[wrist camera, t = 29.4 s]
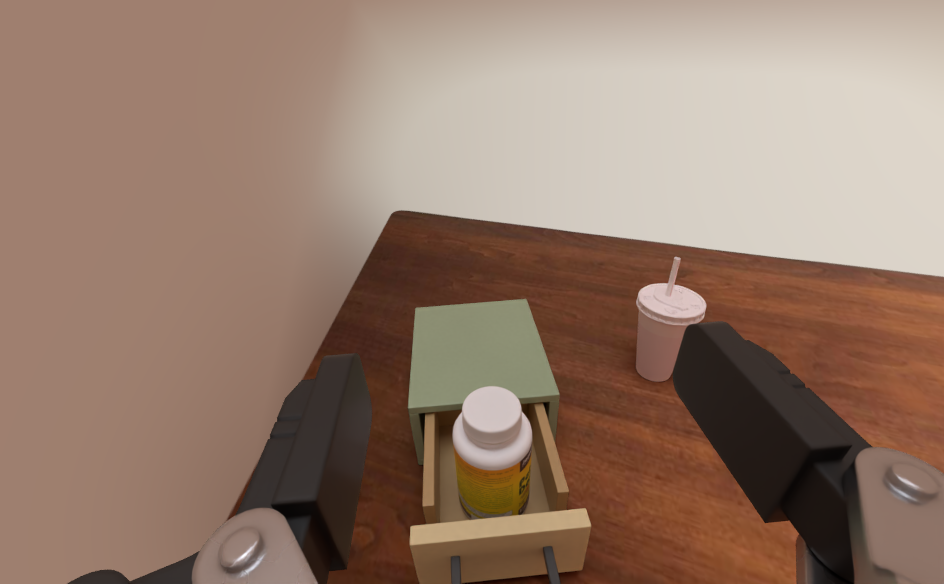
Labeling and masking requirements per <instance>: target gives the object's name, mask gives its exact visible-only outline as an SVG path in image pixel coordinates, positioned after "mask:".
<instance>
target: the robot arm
mask: <svg viewBox="0 0 944 584" xmlns="http://www.w3.org/2000/svg"><path fill="white" fill-rule="evenodd" d="M673 382H674V387H675V389H676V392H677V394H678V396H679V397H680V399H681V400H682V402H683V403H684V404H685V406H686V407H687V409H688V410H689V412H690V413H691V415H692V416H693V418H694V419H695V421H696V422H697V424H698V425H699V426H700V428H701V429H702V431H703V432H704V434H705V435H706V437H707V438H708V440H709V441H710V443H711V444H712V446H713V447H714V449H715V450H716V451H717V453H718V454H719V456H720V457H721V459H722V460H723V462H724V463H725V465H726V466H727V468H728V469H729V471H730V472H731V474H732V475H733V476H734V478H735V479H736V481H737V482H738V484H739V485H740V487H741V488H742V490H743V491H744V493H745V494H746V496H747V497H748V498H749V500H750V501H751V503H752V504H753V506H754V507H755V509H756V510H757V512H758V513H759V515H760V516H761V518H762V519H763V521H764V522H765V523H770V522H780V521H789V520H790V522H791V523H792V525H793V526H794V527H795V529H796V530H797V531H798V533H799V535H798V537H797V540H796V577H797V584H944V474H943V473H942V472H940V471H939V470H938V469H936V468H934V467H933V466H931V465H930V464H928V463H926V462H924V461H922V460H920V459H918V458H916V457H914V456H912V455H909V454H906V453H904V452H901V451H897V450H894V449H889V448H882V447H872V446H871V445H870V444H868V443H867V442H866V441H865V440H864V439H863V438H862V437H861V436H860V435H859V434H858V433H857V432H855V431H854V430H853V429H852V428H851V427H850V426H849V425H848V424H847V423H846V422H845V421H844V420H843V419H842V418H841V417H839V416H838V415H837V414H836V413H835V412H834V411H833V410H832V409H831V408H830V407H829V406H828V405H827V404H826V403H824V402H823V401H822V400H821V399H820V398H819V397H818V396H817V395H816V394H815V393H814V392H813V391H812V390H811V389H809V388H806V387H805V384H804V383H803V382H802V381H801V380H800V379H799V378H798V377H797V376H796V375H795V374H791V373H790V370H789V369H788V368H787V367H786V366H785V365H784V364H783V363H782V362H781V361H780V360H778V359H777V358H776V357H775V356H774V355H773V354H772V353H770V352H768V351H767V350H765V349H763V348H761V347H760V346H758V345H756V344H754V343H753V342H751V341H749V340H744V339H743V338H742V337H741V336H740V335H739V334H738V333H737V332H736V331H735V330H734V329H733V328H732V327H731V326H730V325H729V324H728V323H726V322H723V321H719V322H707V323H695V324H690V325H688V326H687V328H686V329H685V332H684V335H683V339H682V342H681V345H680V349H679V352H678V355H677V359H676V362H675V366H674V369H673ZM371 421H372V407H371V399H370V395H369V391H368V387H367V383H366V379H365V375H364V371H363V367H362V364H361V360H360V357H359V355H358V354H357V353H354V354H342V355H331V356H325V357H323V359H322V361H321V364H320V367H319V370H318V372H317V375H316V378H315V379H310V380H302V381H301V382H300V383H299V384H298V385H297V386H296V387H295V388H294V389H293V390H292V392H291V393H290V394H289V395H288V396H287V397H286V398H285V401H284V403H283V405H282V408H281V410H280V412H279V415H278V417H277V422H275V424H274V427H273V429H272V432H271V434H270V439H268V441H267V443H266V446H265V448H264V450H263V453H262V455H261V458H260V460H259V462H258V465H257V467H256V469H255V472H254V474H253V477H252V479H251V481H250V484H249V486H248V488H247V491H246V493H245V496H244V498H243V500H242V503H241V505H240V507H239V509H238V511H237V513H236V515H235V516H234V517H233V518H231V519H229V520H228V521H227V522H225V523H224V524H222V525H221V526H220V527H219V528H218V529H217V530H216V531H215V532H214V533H213V534H212V535H211V536H210V537H209V539H208V540H207V541H206V543H205V544H204V545H203V547H202V548H201V550H200V551H199V552H197V553H195V554H193V555H192V556H190V557H187V558H186V559H183V560H181V561H179V562H176V563H174V564H171V565H169V566H166V567H164V568H162V569H159V570H157V571H154V572H152V573H149V574H147V575H145V576H142V577H140V578H137V579H135V580H133V581H129V580H128V579H127V578H126V577H125V576H124V575H122V574H121V573H119V572H117V571H115V570H100V571H95V572H91V573H89V574H86V575H83V576H81V577H79V578H77V579H75V580H73V581H71V582H69V583H68V584H327V579H328V574H329V571H335V570H344V569H347V564H348V558H349V552H350V547H351V541H352V535H353V529H354V523H355V517H356V511H357V505H358V499H359V493H360V487H361V481H362V476H363V470H364V464H365V458H366V452H367V446H368V440H369V434H370V428H371Z"/></svg>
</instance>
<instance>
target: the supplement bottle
mask: <svg viewBox="0 0 944 584" xmlns="http://www.w3.org/2000/svg"><path fill="white" fill-rule="evenodd" d="M453 447H454V456H455V466H456V476H457V485H458V494H459V500H460V504H461V507H462V509H463V511H464V512H465V514H466V515H467V516H468V518H469V519H471V520H475V519H485V518H495V517H504V516H514V515H523V513H524V511H525V509H526V507H527V504H528V500H529V489H530V472H531V455H532V429H531V425H530V422H529V420H528V419H527V417H526V416H525V414H524V413H523V412H522V410H521V404H520V401H519V399H518V398H517V397H516V396H515V395H514V394H513V393H512V392H511V391H509V390H507V389H505V388H501V387H496V386H487V387H482V388H479V389H477V390H475V391H473V392H472V393H470V394H469V395H468V396H467V398H466V399H465V401H464V403H463V406H462V413H461V414H460V415H459V416H458V418H457V419H456V421H455V424H454V427H453Z"/></svg>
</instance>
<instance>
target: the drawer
mask: <svg viewBox="0 0 944 584" xmlns="http://www.w3.org/2000/svg"><path fill="white" fill-rule="evenodd" d="M521 410H522V412H523V413H524V414H525V416H526V417H527V419H528V420H529V422H530V425H531V429H532V455H531V472H530V489H529V500H528V504H527V507H526V509H525V511H524V513H523V515H514V516H504V517H495V518H485V519H475V520H471V519H469V518H468V516H467V515H466V514H465V512H464V511H463V509H462V507H461V504H460V500H459V494H458V485H457V476H456V466H455V456H454V447H453V427H454V424H455V421H456V419H457V418H458V416H459V415H460V414H461V413H462V410H451V411H440V412H429V413H425V436H424V470H423V504H422V506H423V511H424V516H425V521H426V525H416V526H411V527H410V548H411V552H412V556H413V560H414V564H415V568H416V572H417V576H418V580H419V584H462V583H468V582H477V581H486V580H496V579H505V578H514V577H524V576H533V575H542V574H548V579H549V584H561V583H560V578H559V574H558V573H561V572H570V571H579V570H582V569H583V564H584V559H585V554H586V550H587V545H588V540H589V535H590V530H591V523H590V520H589V517H588V514H587V511H586V509H585V508H583V509H573V510H566V509H567V502H568V495H569V490H568V486H567V483H566V479H565V476H564V473H563V469H562V466H561V462H560V459H559V456H558V452H557V449H556V445H555V442H554V439H553V435H552V432H551V428H550V425H549V422H548V418H547V415H546V411H545V408H544V405H543V402H539V403H528V404H521Z"/></svg>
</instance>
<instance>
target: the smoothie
mask: <svg viewBox="0 0 944 584" xmlns="http://www.w3.org/2000/svg"><path fill="white" fill-rule="evenodd" d="M680 260H681V259H680V258H679V257H675V258H674V262H673V266H672V270H671V274H670V278H669V282H668V284H652V285H648V286H646V287H644V288H642V289H641V290H640V291H639V294H638V298H637V302H636V304H637V306H638V309H639V317H638V337H637V355H636V370H637V372H638V373H639V374H640V375H641V376H642V377H644V378H645V379H648V380H650V381H655V382H662V381H666V380H668V379H669V378H670V376H671V374H672V372H673V369H674V366H675V362H676V359H677V355H678V352H679V349H680V345H681V342H682V339H683V335H684V332H685V329H686V328H687V326H688V325H690V324H695V323H698V322H700V321H701V320H702V319H703V318H704V315H705V310H706V303H705V301H704V299H703V298H702V297H701V296H700V295H698V294H697V293H695V292H694V291H692V290H690V289H687V288H685V287H682V286H678V285H674V283H675V279H676V275H677V271H678V267H679V264H680Z"/></svg>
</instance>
